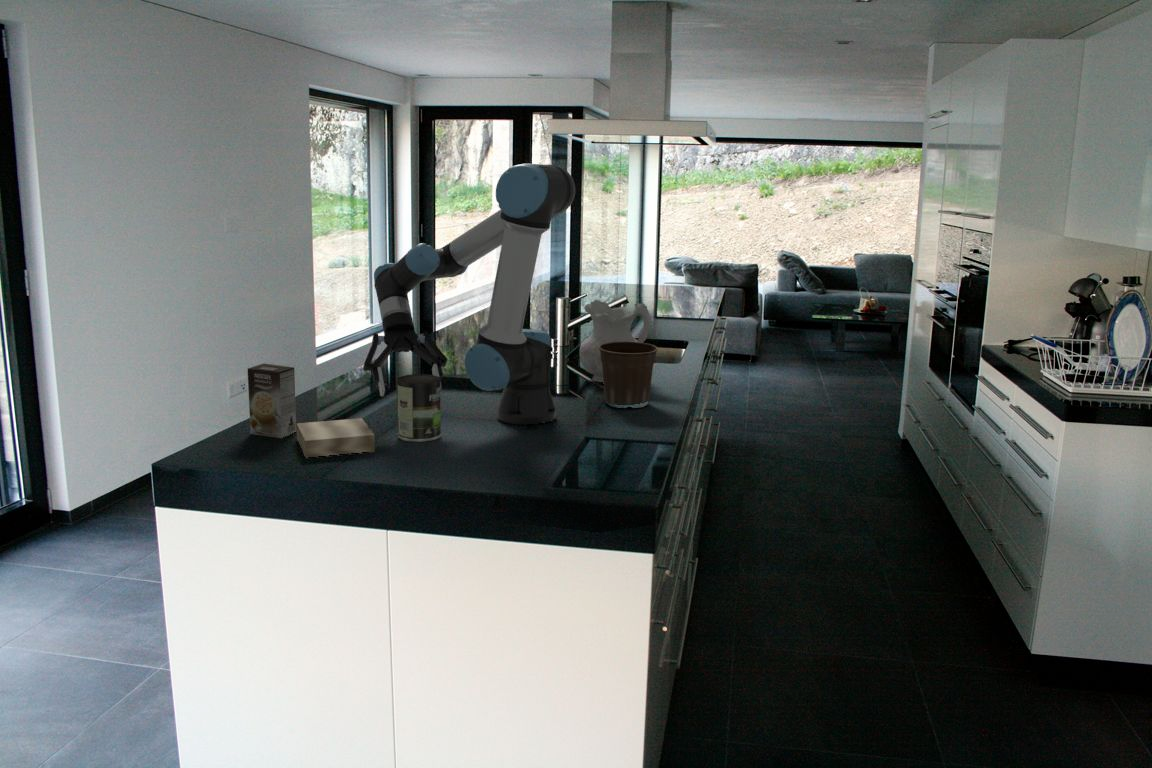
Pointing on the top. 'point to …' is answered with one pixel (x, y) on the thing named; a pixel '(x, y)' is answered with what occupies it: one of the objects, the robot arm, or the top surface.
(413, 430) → the coffee can
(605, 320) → the ceramic pitcher
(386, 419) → the top surface
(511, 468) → the top surface
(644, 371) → the plant pot
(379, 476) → the top surface
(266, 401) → the coffee box
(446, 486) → the top surface
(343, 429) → the oak base block
